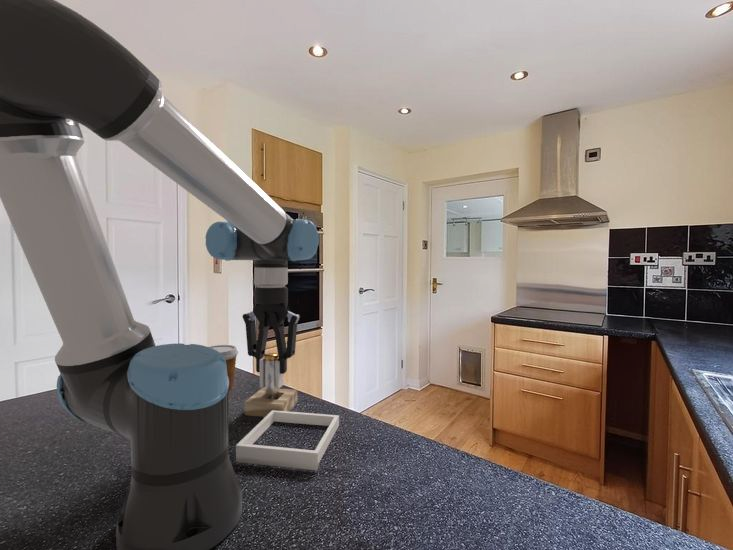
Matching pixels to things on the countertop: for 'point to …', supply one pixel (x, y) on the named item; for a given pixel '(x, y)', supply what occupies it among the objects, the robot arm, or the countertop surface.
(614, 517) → the countertop surface
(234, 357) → the disposable coffee cup
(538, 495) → the countertop surface
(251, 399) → the socket block
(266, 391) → the pin
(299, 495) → the countertop surface
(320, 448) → the rectangular frame
